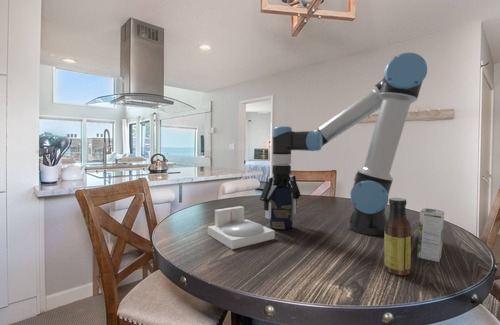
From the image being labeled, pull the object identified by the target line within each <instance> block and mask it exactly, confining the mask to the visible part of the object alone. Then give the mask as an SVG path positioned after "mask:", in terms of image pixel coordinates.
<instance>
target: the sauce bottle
mask: <svg viewBox="0 0 500 325" xmlns="http://www.w3.org/2000/svg"><path fill="white" fill-rule="evenodd" d="M388 203H389V215H388V217H387V222H386V225H385V235H384V249H383V250H384V256H383V258H384V259H383V260H384V262H383V264H384V265H385V266H384V268H385V270H386V271H387V272H389V274H390V273H391V274H392V275H395V276H408V275H410V273H411V268H412V267H411V266H412V264H411V263H412V261H411V260H412V253H411V252H412V249H411V248H412V234H411V224H410V221H409V220H408V219H407V217H406V216H407V214H406V213H407V212H406V208H407V207H406V205H407V203H408V202H407V199H406V198H404V197H403V198H402V197H390V198H388Z"/></svg>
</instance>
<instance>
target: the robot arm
mask: <svg viewBox="0 0 500 325" xmlns="http://www.w3.org/2000/svg"><path fill="white" fill-rule="evenodd" d="M383 73H384V76H383V78H382V79H381V80H380V81H379V82H378V83H376V84H374V86H373V87H372V90H371V91H369V92H367V94H365V95H364V96H362V97H361V98H358V100H356V101H355V102H353V103H352V104H350V105H349V106H347V107H346V108H345V109H343V110H342V111H340V112H339V113H337V114H336V115H335V116H333V117H332V118H330V119H328V120H327V121H325V123H323V124H321V125H320V126H319V127H317V128H316V129H314V130H309V131H307V130H306V131H304V130H303V131H293V130H292V127H291V126H276V127H274V128H273V130H272V132H273V134H272V164H273V165H272V168H271V169H272V175H273V176H272V177H271V176H267V177H266V182H265V185H264V186H263V187H264V188H263V190H262V192H261V195H260V197H259V200H260V201H261V202H263V210H264V212H265V213H264V214H265V215H264V218H266V219H267V220H270V219H271V202H270V200H271V198H272V197H273V195H274V194H275V189H277V188H282V187H286V186H288V187H291V188H292V189H293V215H296V212H297V211H296V210H297V209H296V208H297V206H298V205H297V204H298V203H297V202H298V200H299V199H300V197H301V192H300V189H299V186H298V183H297V179H296V175H291V174H292V166H291V164H292V151H311V152H315V151H316V152H317V151H318V152H319V151H321V150H322V148H323V147H324V146H325V145H326V144H328V143H329V142H330V141H332V140H334V139H335V138H337V137H339V136H340V135H341V134H343V133H345V132H346V131H347V130H349V129H350V128H352V127H354V126H355V125H357V124H358V123H360V122H361V121H363V120H364V119H367V117H369V116H370V115H372V114H373V113H375V112H377V111H378V114H377V118H376V120H375V121H376V122H375V124H374V130H373V132H372V136H371V139H370V143H369V146H368V150H367V153H366V158H365V161H364V164H363V166H362V167H361V168H359V169H358V170H357V171H356V173H355V175H354V182H353V183H354V184H353V187H352V188H351V190H350V200H351V203H352V205H353V210H352V212H351V216H350V218H349V220H348V229H350V230H351V231H353V232H354V233H355V232H356V233H358V234H362V235H369V236H383V235H384V236H385V225H386V222H387V220H388V216H387V214H386V206H387V205H388V203H389V195H390V190H391V187H392V183H393V180H394V179H393V177H392V175H391V169H392V167H393V163H394V160H395V156H396V154H397V149H398V146H399V144H400V140H401V136H402V133H403V130H404V126H405V123H406V120H407V116H408V114H409V110H410V106H411V104H413V103H414V102H416V101H418V97H419V94H420V91H421V88H422V85H423V81H424V80H425V78H426V77H427V74H428V64H427V62H426V60H425V58H423V56H421V55H420V54H418V53H415V52H403V53H400V54H397V55H395V56H394V57H392V58H391V59H390V60H389V62H388V63H387V64H386V66H385V68H384V72H383Z"/></svg>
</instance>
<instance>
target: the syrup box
mask: <svg viewBox="0 0 500 325" xmlns="http://www.w3.org/2000/svg"><path fill="white" fill-rule="evenodd" d="M444 219H445V211H444V210H440V209H439V210H438V209H436V208H427V207H426V208H424V207H423V208H422V209H421V210H420V211H419V222H418V223H419V224H418V235H417V237H418V238H417V252H416V253H417V254H416V257H417V258H419V259H422V260H427V261H432V262H436V263H441V262H440V261H441V258H442V250H443V249H442V248H443V237H444V236H443V235H444V234H443V233H444V221H445V220H444Z"/></svg>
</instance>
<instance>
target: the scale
mask: <svg viewBox="0 0 500 325" xmlns="http://www.w3.org/2000/svg"><path fill="white" fill-rule="evenodd" d="M275 232H276V231H275V229H272V228H270V227H267V226H264V225H262V224H261V223H258V222H254V221H252V220H249V219H245V207H244V206H241V205H238V206H233V207H225V208H220V209H219V208H218V209H214V225H209V226H207V235H208V236H210V237H211V238H213V239H215V240H216V241H218V242H219V243H221V244H223V245H225V247H228V248H229V249H231V250H235V249H239V248H243V247H247V246H251V245H256V244H259V243H262V242H267V241H270V240H275V239H276V238H275V234H276V233H275Z"/></svg>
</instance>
